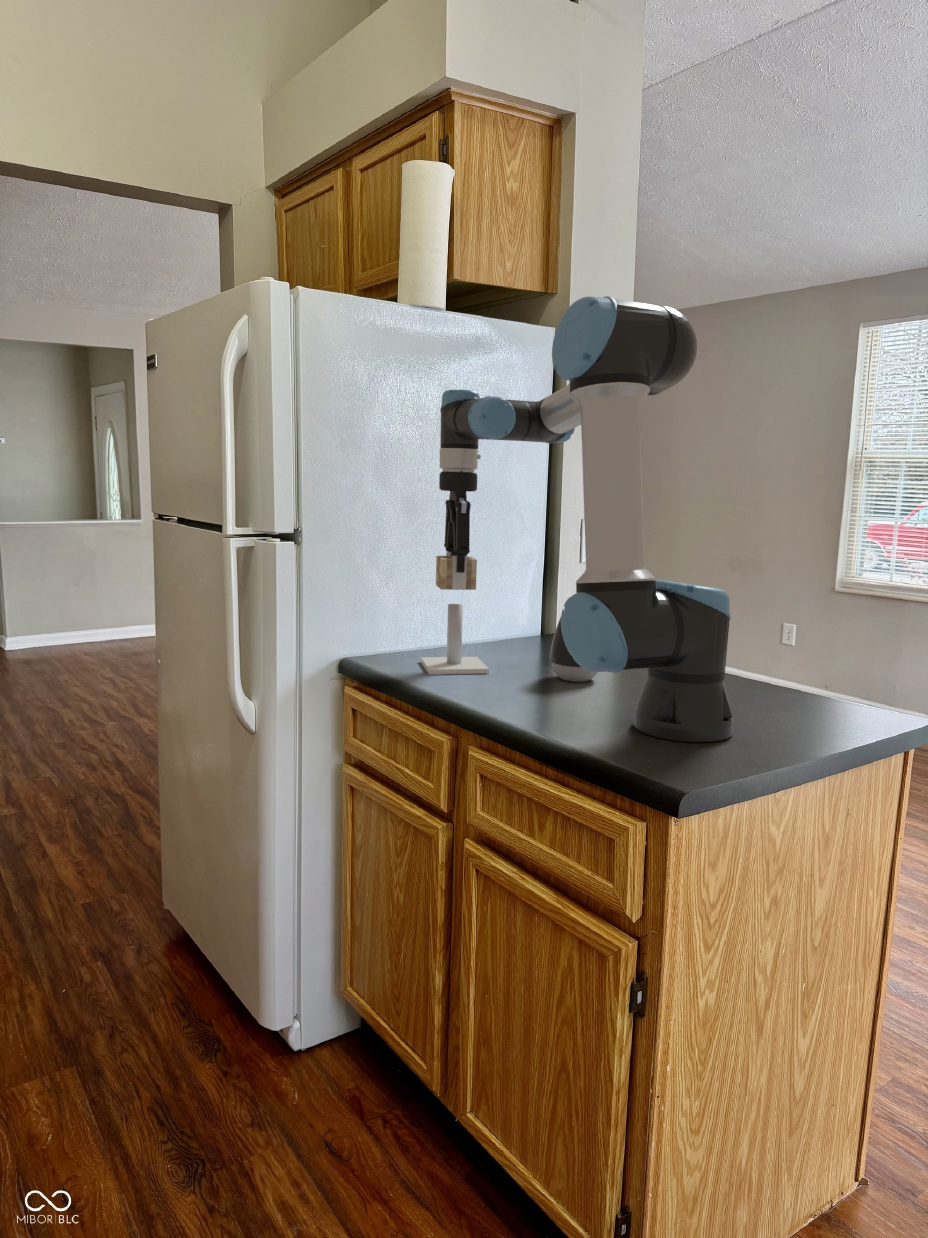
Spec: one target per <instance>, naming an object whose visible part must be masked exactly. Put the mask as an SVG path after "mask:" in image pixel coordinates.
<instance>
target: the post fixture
mask: <svg viewBox="0 0 928 1238" xmlns="http://www.w3.org/2000/svg"><path fill="white" fill-rule="evenodd" d="M463 610H464V606H463V604H461V603H448V604H447V628H446V629H447V630H446V631H447V633H446V634H447V636H446V656H434V657H433V656H432V657H431V656H430V657H429V656H424V657H420V663H421V665H422V666H423V668H424V669H425V670H426V672H427V674H428V675H429V676H432V675H475V674H476V675H478V674H479V675H480V674H481V675H482V674H485V675H487V674H490V668H489V667H488V666H487V665H486V664H485V663H484V662H483V661H482V660H481V659H480V658H479V657H478V656H462V653H463V652H462V649H463V647H462V646H463V616H464V615H463V613H464V611H463Z"/></svg>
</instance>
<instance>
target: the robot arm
mask: <svg viewBox="0 0 928 1238" xmlns="http://www.w3.org/2000/svg"><path fill="white" fill-rule="evenodd" d="M552 340H553V341H552V347H551V358H552V361H551V362H552V365H553V369H554V370H555V371H556V374H558V376H559V377H560V378H562V379H564V380H566V381H569V383H568V384H566V385H564V386H563V387H561V388H560V389H558V390H557V391H555V392H553V393H551V394H550V395H548V396H546V397H544V398H542V399H540V400H538V401H537V400H536V401H534V400H532V401H531V400H516V399H505V397H501V396H490V395H487V396H484V397H480V393H479V392H478V391H476V390H473V389H447V390H445V391H443V393H442V395H441V406H440V409H439V410H440V411H439V413H440V442H439V443H440V448H439V469H442V470H441V471H440V473H439V483H438V486H439V487H438V488H439V490H440V491H442V492H443V491H445V492H449V497H448V498H449V499H446V501H445V523H444V524H445V526H444V527H445V528H444V544H443V547H444V548H445V556H453V565H452V589H466V572H467V556H468V554H470V552H471V549H470V531H471V530H470V529H471V528H470V525H471V524H470V521H471V519H470V518H471V516H470V514H471V506H472V504H471V502H470V501H469V500H468V499H467V495H468V494H467V492H476V491H477V489H478V474H477V472H475V470H478V467H479V466H478V463H479V462H478V460H481V454H479V440H489V441H491V440H492V441H493V440H494V441H510V442H511V441H512V442H513V441H515V442H516V441H517V442H532V443H545V444H555V443H556V444H557V443H566V442H567V441H568V440H570V439H571V436H572V435H573V434H574V433H575V429H576V428H577V427H579V426H580V427H581V429H580V430H581V455H582V459H581V460H582V461H581V462H582V485H583V487H582V489H583V514H584V515H583V517H584V519H583V520H584V522H583V523H584V549H585V551H584V552H585V571H584V572H583V573H582V574H581V575H580V576H579V577H578V578H577V579H576V582H575V589H576V591H575V592H576V593H574V594H572V595H571V596H569V597H568V598H567V599H566V600H565V602H564V605H563V607H564V608H563V609H562V610H561V615H560V617H561V630H562V635H563V639H564V642H565V645H566V647H567V649H568V651H569V653H570V655H572V657H573V658H574V660H575V661H576V662H577V664H579V665H580V666H581V667H582V668H584V669H586V670H588V671H592V672H598V673H605V672H607V673H613V674H615V673H619V672H622V671H629V670H631V671H632V670H643V669H648V671H647V680H646V683H645V685H644V688H643V690H642V692H641V694H640V697H639V699H638V702H637V704H636V708H635V710H634V717H633V726H634V728H635V729H637V731H639V732H641V733H642V734H645V735H648V736H651V737H655V738H659V739H662V740H663V739H664V740H669V741H676V742H685V743H686V742H687V743H712V742H719V741H723V740H727V739H729V738H730V737H732V735H733V731H734V730H733V729H734V717H733V713H732V709H731V706H730V701H729V698H728V694H727V690H726V686H725V681H726V680H725V678H726V667H727V665H726V664H727V653H728V644H729V643H728V642H729V631H730V622H731V621H730V620H731V618H732V617H731V614H730V605H731V603H730V601H731V599H730V596H729V594H728V593H727V592H726V591H725V590H723V589H721V588H716V587H711V586H704V585H699V584H691V583H685V582H677V581H672V580H671V581H670V580H665V579H663V580H662V579H656V577H655V576H654V575H653V574H652V573H651V572H650V571H649V570H648V569H647V568H646V564H645V561H646V560H645V530H644V529H645V527H644V524H645V523H644V497H643V495H644V493H643V463H642V459H643V458H642V433H641V431H642V429H641V427H642V426H641V403H642V401H643V400H644V399H645V398H646V397H647V396H648V397H653V396H656V395H658V394H660V393H663V392H665V391H666V390H669V389H670V388H673V387H674V386H676V385H678V383H680V382H681V381H682V380H683V379H684V378H685V377H686V376H687V375H688V374H689V373H690V371H691V369H692V367H693V366H694V363H695V361H696V358H697V351H698V340H697V336H696V333H695V329H694V327H693V325H692V324H691V322H690V321H689V319H688V318H687V317H686V316H685V315H684V314H682V312H680V311H679V310H676V309H675V308H673V307H670V306H666V305H660V304H653V303H652V304H651V303H645V302H637V301H632V300H625V299H618V298H613V297H611V296H603V297H600V296H584V297H581V298H579V299H577V300H576V301H574V302H573V303H572V304H571V305H570V306H569V307H568V308H567V309H566V310H565V311H564V313H563V315H562V316H561V319H560V321H559V322H558V324H557V327H556V330H555V333H554V337H553V339H552Z"/></svg>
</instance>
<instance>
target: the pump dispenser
mask: <svg viewBox="0 0 928 1238" xmlns="http://www.w3.org/2000/svg"><path fill="white" fill-rule="evenodd" d="M549 652H550V653H549V661H550V662H551V667H552V670H553V672H554V673H555V674H556V676H557V677H558V678H560V679H561V680H563V681H566V682H572V683H585V682H588V681H590V680H592V679H594V678H595V677H596V676H597V675H598V673H599V672H592V671H588V670H586V669H584V668H582V667H581V666H580V665H579V664H577V662H576V661H575V660H574V658H573V657H572V655H570V653H569V651H568V649H567V647H566V645H565V642H564V639H563V635H562V630H561V616H560V618H559V620H558V622H557V626H556V629H555V631H554V634H553V638H552V642H551V647H550V651H549Z"/></svg>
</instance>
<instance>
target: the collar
mask: <svg viewBox="0 0 928 1238" xmlns="http://www.w3.org/2000/svg"><path fill="white" fill-rule="evenodd" d="M435 558H436V560H435V562H436V563H435V586H436V587H437V588H438V589H440V590H441V591H442V590H444V591H445V590H446V591H447V590H449V591H450V590H451V591H452V590H453V591H454V590H456V591H457V590H458V591H461V590H463V591H475V590H477V570H478V569H477V567H478V566H477V565H478V564H477V563H478V560H477V558H475V557H472V556H470V555H467V572H466V589H452V565H453V556H446V555H436V557H435Z"/></svg>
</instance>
